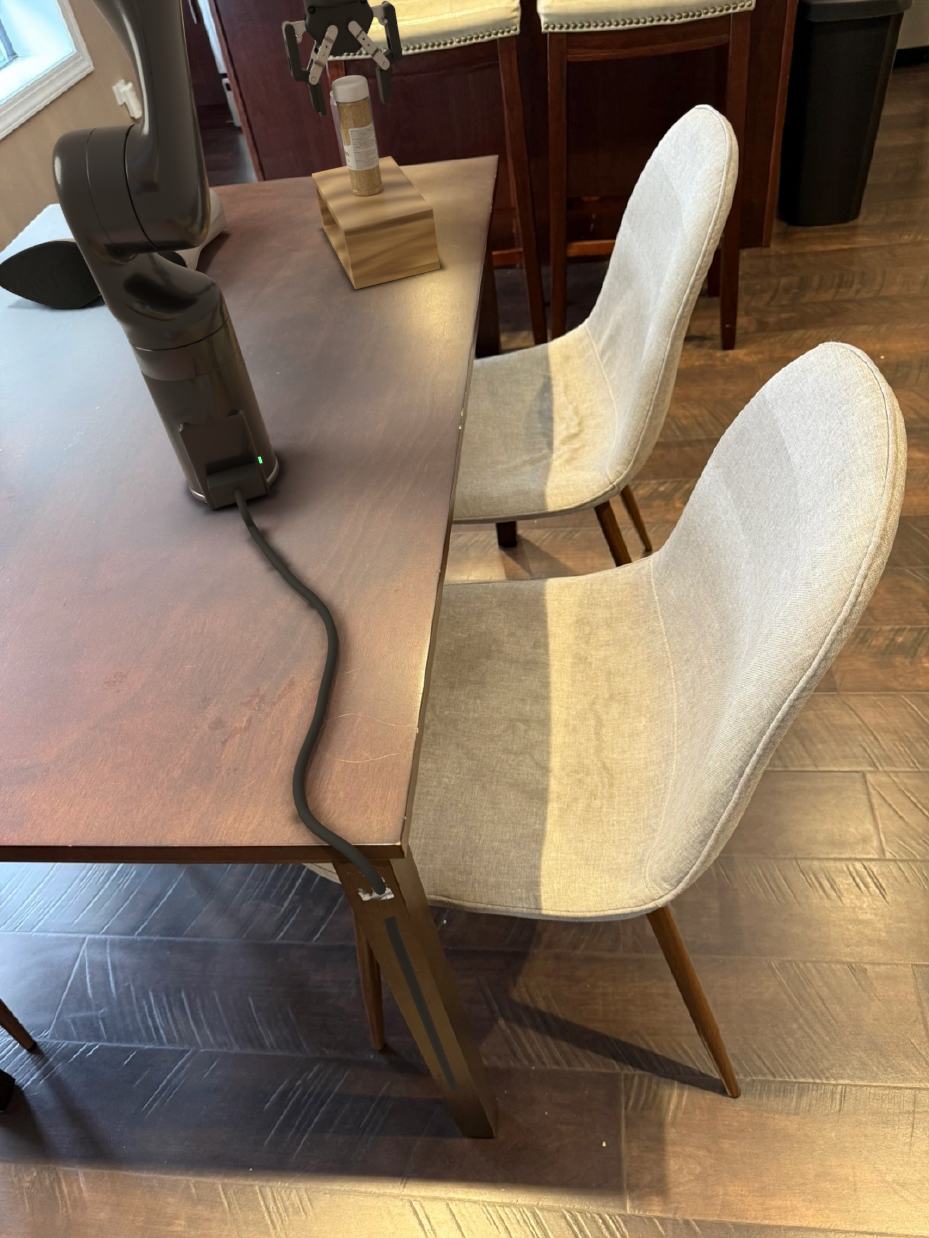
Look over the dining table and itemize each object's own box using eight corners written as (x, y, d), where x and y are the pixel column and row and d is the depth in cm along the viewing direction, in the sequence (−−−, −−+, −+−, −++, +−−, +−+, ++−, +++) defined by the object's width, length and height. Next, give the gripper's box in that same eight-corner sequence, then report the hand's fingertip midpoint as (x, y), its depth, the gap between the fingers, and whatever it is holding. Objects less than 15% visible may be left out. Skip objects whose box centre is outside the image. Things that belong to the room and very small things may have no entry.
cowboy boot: (166, 250, 112) (230, 176, 129) (-29, 240, 115) (59, 169, 132) (185, 318, 119) (244, 239, 136) (1, 306, 122) (80, 231, 139)
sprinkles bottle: (350, 187, 120) (329, 77, 110) (382, 182, 120) (365, 72, 111) (352, 199, 117) (331, 88, 107) (386, 194, 117) (367, 82, 107)
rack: (440, 268, 118) (432, 208, 112) (355, 289, 116) (343, 229, 111) (399, 211, 133) (390, 155, 127) (323, 229, 131) (311, 173, 125)
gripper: (271, -32, 96) (305, 129, 108) (394, -55, 98) (414, 105, 110) (261, -42, 101) (295, 112, 113) (378, -64, 103) (399, 89, 115)
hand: (354, 108), depth 111 cm, fingers open, 8 cm apart
